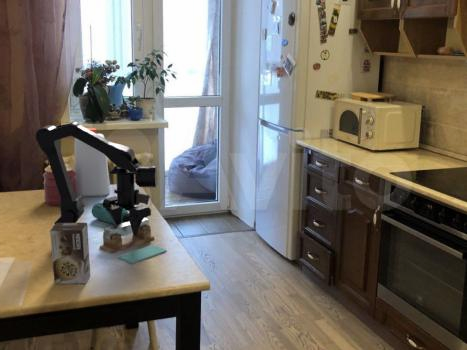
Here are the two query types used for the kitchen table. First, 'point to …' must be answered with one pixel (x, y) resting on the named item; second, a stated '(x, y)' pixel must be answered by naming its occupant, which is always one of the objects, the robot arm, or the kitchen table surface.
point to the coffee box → (70, 253)
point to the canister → (51, 188)
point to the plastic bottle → (90, 169)
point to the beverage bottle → (107, 214)
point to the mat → (142, 254)
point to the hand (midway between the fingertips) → (127, 231)
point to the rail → (122, 229)
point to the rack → (126, 240)
